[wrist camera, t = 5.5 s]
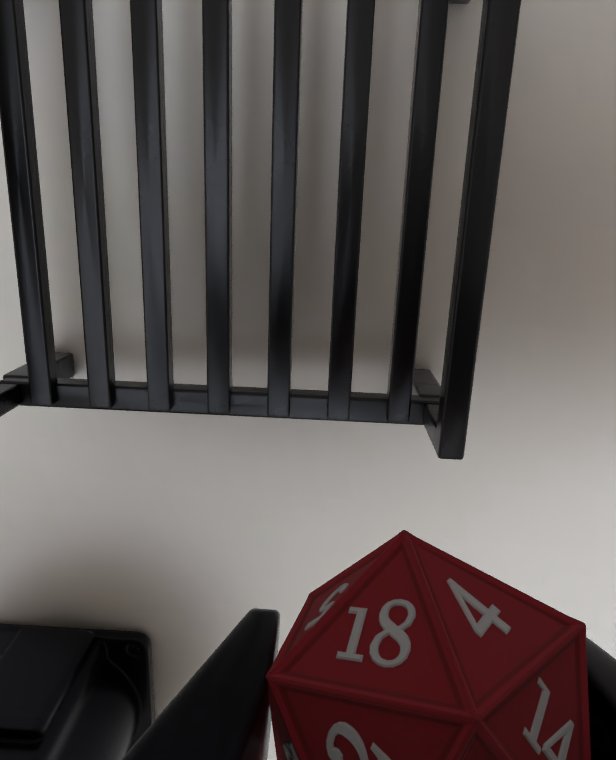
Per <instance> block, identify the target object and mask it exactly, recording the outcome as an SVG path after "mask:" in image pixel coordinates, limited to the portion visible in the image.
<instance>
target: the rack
mask: <svg viewBox="0 0 616 760" xmlns="http://www.w3.org/2000/svg"><path fill="white" fill-rule="evenodd" d="M469 2H470V0H419V10H418V22H417V35H416V47H415V59H414V71H413V84H412V96H411V108H410V120H409V133H408V145H407V157H406V170H405V182H404V194H403V206H402V219H401V231H400V243H399V255H398V268H397V280H396V292H395V304H394V317H393V329H392V341H391V354H390V366H389V378H388V390H387V394H383V393H362V392H351V382H352V366H353V350H354V334H355V317H356V301H357V285H358V269H359V253H360V237H361V221H362V205H363V189H364V173H365V157H366V141H367V125H368V109H369V93H370V77H371V61H372V45H373V29H374V13H375V0H347V20H346V39H345V59H344V79H343V99H342V119H341V139H340V159H339V179H338V199H337V219H336V239H335V259H334V279H333V298H332V318H331V338H330V358H329V378H328V391H320V390H299V389H291V371H292V338H293V306H294V273H295V240H296V208H297V175H298V143H299V110H300V78H301V45H302V13H303V0H275V3H274V57H273V112H272V166H271V221H270V275H269V330H268V384H267V388H257V387H236V386H232V0H202V34H203V109H204V185H205V260H206V336H207V385H193V384H174V380H173V347H172V315H171V282H170V250H169V217H168V185H167V152H166V120H165V87H164V55H163V22H162V0H130V12H131V34H132V56H133V79H134V101H135V124H136V146H137V168H138V191H139V213H140V235H141V258H142V280H143V303H144V325H145V347H146V370H147V382H130V381H115V368H114V352H113V336H112V319H111V303H110V287H109V271H108V254H107V238H106V222H105V205H104V189H103V173H102V156H101V140H100V124H99V107H98V91H97V75H96V58H95V42H94V26H93V9H92V0H59V10H60V23H61V36H62V49H63V62H64V76H65V89H66V102H67V115H68V128H69V142H70V155H71V168H72V181H73V194H74V208H75V221H76V234H77V247H78V260H79V274H80V287H81V300H82V313H83V326H84V340H85V353H86V366H87V379H70V378H71V377H73V376H74V365H73V355H72V353H60V352H55V346H54V335H53V324H52V313H51V302H50V291H49V280H48V269H47V258H46V248H45V237H44V226H43V215H42V204H41V193H40V182H39V171H38V160H37V149H36V138H35V127H34V116H33V105H32V94H31V83H30V73H29V62H28V51H27V40H26V29H25V18H24V7H23V0H0V119H1V128H2V138H3V147H4V156H5V166H6V175H7V184H8V194H9V203H10V212H11V222H12V231H13V241H14V250H15V259H16V269H17V278H18V287H19V297H20V306H21V316H22V325H23V334H24V344H25V353H26V362H27V364H25V365H23V366H21V367H19V368H17V369H15V370H13V371H11V372H9V373H7V374H5V375H4V376H3V380H1V381H0V417H1V416H2V415H4V414H5V413H7V412H9V411H10V410H12V409H14V408H15V407H17V406H18V405H24V406H44V407H65V408H85V409H106V410H126V411H147V412H167V413H188V414H209V415H229V416H250V417H270V418H291V419H311V420H332V421H352V422H373V423H393V424H414V425H424V426H425V428H426V430H427V433H428V435H429V437H430V439H431V442H432V444H433V446H434V449H435V451H436V453H437V455H438V458H441V459H460V460H461V459H463V457H464V450H465V442H466V434H467V426H468V418H469V410H470V402H471V394H472V386H473V379H474V371H475V363H476V355H477V347H478V339H479V331H480V323H481V315H482V307H483V299H484V291H485V283H486V275H487V267H488V259H489V252H490V244H491V236H492V228H493V220H494V212H495V204H496V196H497V188H498V180H499V172H500V164H501V156H502V148H503V140H504V132H505V125H506V117H507V109H508V101H509V93H510V85H511V77H512V69H513V61H514V53H515V45H516V37H517V29H518V21H519V13H520V5H521V0H483V8H482V17H481V26H480V35H479V44H478V53H477V62H476V72H475V81H474V90H473V99H472V108H471V117H470V126H469V136H468V145H467V154H466V163H465V172H464V181H463V190H462V200H461V209H460V218H459V227H458V236H457V245H456V254H455V263H454V273H453V282H452V291H451V300H450V309H449V318H448V327H447V337H446V346H445V355H444V364H443V373H442V382H441V386H440V385H439V383H438V381H437V380H436V378H435V377H434V375H433V374H432V372H431V370H425V369H414V367H415V357H416V346H417V335H418V325H419V314H420V304H421V293H422V283H423V272H424V261H425V251H426V240H427V230H428V219H429V209H430V198H431V187H432V177H433V166H434V156H435V145H436V135H437V124H438V113H439V103H440V92H441V82H442V71H443V61H444V50H445V39H446V29H447V18H448V8H449V3H461V4H467V3H469Z"/></svg>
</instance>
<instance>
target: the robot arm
mask: <svg viewBox="0 0 616 760" xmlns="http://www.w3.org/2000/svg"><path fill="white" fill-rule="evenodd" d="M279 625H280V614H279V612H278V611H277V610H269V609H257V608H255V609H251V610H250V611H249V612H248V613H247V614H246V615H245V617H244V618H243V619H242V620H241V621H240V622H239V623H238V625H237V626H236V627H235V628H234V629H233V630H232V632H231V633H230V634H229V635H228V636H227V637H226V639H225V640H224V641H223V642H222V643H221V644H220V646H219V647H218V648H217V649H216V650H215V651H214V652H213V654H212V655H211V656H210V657H209V658H208V659H207V661H206V662H205V663H204V664H203V665H202V666H201V668H200V669H199V670H198V671H197V672H196V673H195V674H194V676H193V677H192V678H191V679H190V680H189V681H188V683H187V684H186V685H185V686H184V687H183V688H182V690H181V691H180V692H179V693H178V694H177V695H176V697H175V698H174V699H173V700H172V701H171V702H170V703H169V705H168V706H167V707H166V708H165V709H164V710H163V712H162V713H161V714H160V715H159V716H158V717H157V719H156V720H155V715H154V694H153V674H152V654H151V642H150V639H149V638H148V636H147V635H145V634H143V633H140V632H133V631H115V630H98V629H81V628H64V627H47V626H30V625H13V624H0V760H267V758H268V748H269V738H270V728H271V712H270V705H269V686H268V682H267V679H266V674H267V673H268V671H269V670H270V668H271V666H272V664H273V662H274V661H275V659H276V657H277V655H278V641H279ZM132 645H136V646H138V647H140V648H135V647H134V646H132ZM586 651H587V675H588V698H589V722H590V746H591V760H616V659H615V658H613V657H612V656H611V655H609V654H608V653H607V652H605V651H604V650H603V649H601V648H600V647H599V646H598V645H596V644H595V643H594V642H592V641H591V640H590V639H588V638H587V637H586Z"/></svg>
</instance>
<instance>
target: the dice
mask: <svg viewBox="0 0 616 760" xmlns="http://www.w3.org/2000/svg"><path fill="white" fill-rule="evenodd" d="M266 679H267V682H268V686H269V705H270V712H271V719H272V726H273V733H274V740H275V748H276V755H277V760H591V746H590V722H589V698H588V675H587V651H586V625H585V623H583V622H581V621H579V620H576V619H574V618H572V617H569V616H567V615H565V614H563V613H561V612H559V611H557V610H556V609H554V608H552V607H550V606H548V605H546V604H544V603H542V602H540V601H538V600H536V599H534V598H532V597H530V596H529V595H527V594H525V593H523V592H521V591H519V590H517V589H515V588H513V587H511V586H509V585H507V584H505V583H504V582H502V581H500V580H498V579H496V578H494V577H492V576H490V575H488V574H486V573H484V572H482V571H480V570H478V569H477V568H475V567H473V566H471V565H469V564H467V563H465V562H463V561H461V560H459V559H457V558H455V557H453V556H452V555H450V554H448V553H446V552H444V551H442V550H440V549H438V548H436V547H434V546H432V545H430V544H428V543H426V542H425V541H423V540H421V539H419V538H417V537H415V536H414V535H412V534H411V533H409V532H407V531H406V530H403V531H401V532H400V533H399V534H397V535H396V536H395V537H393V538H392V539H390V540H389V541H387V542H386V543H384V544H383V545H382V546H380V547H379V548H377V549H376V550H374V551H373V552H371V553H370V554H368V555H367V556H365V557H364V558H362V559H361V560H359V561H358V562H356V563H355V564H353V565H352V566H350V567H349V568H347V569H346V570H344V571H343V572H341V573H340V574H338V575H337V576H335V577H334V578H332V579H331V580H329V581H328V582H326V583H325V584H323V585H322V586H320V587H319V588H317V589H316V590H314V591H313V592H311V593H310V594H309V596H308V598H307V600H306V602H305V604H304V606H303V608H302V610H301V612H300V613H299V615H298V617H297V619H296V621H295V623H294V625H293V627H292V628H291V630H290V632H289V634H288V636H287V638H286V640H285V642H284V644H283V645H282V647H281V649H280V651H279V653H278V655H277V657H276V659H275V661H274V662H273V664H272V666H271V668H270V670H269V671H268V673H267V674H266Z"/></svg>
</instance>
